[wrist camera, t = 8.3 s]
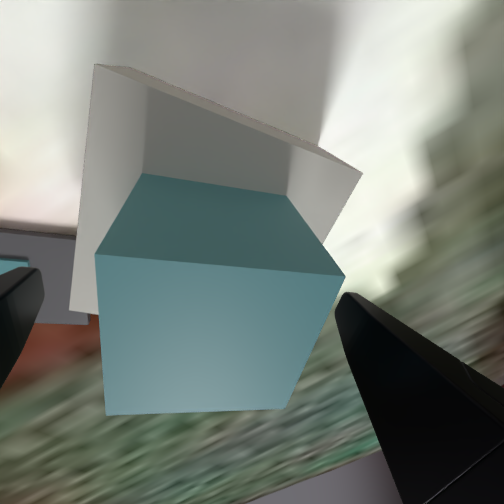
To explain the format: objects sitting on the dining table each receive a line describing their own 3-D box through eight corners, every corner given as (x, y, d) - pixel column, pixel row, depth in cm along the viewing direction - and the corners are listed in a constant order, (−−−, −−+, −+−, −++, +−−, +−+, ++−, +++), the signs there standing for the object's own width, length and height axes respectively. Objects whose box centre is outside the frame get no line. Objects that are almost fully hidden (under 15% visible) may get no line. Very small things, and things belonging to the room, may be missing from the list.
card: (-68, 313, 16) (-77, 321, 15) (-112, 216, 13) (-125, 222, 12) (90, 320, 18) (87, 327, 17) (83, 236, 15) (79, 242, 14)
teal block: (139, 292, 12) (106, 415, 7) (142, 173, 9) (93, 254, 5) (256, 299, 13) (284, 408, 9) (286, 195, 10) (345, 276, 6)
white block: (103, 247, 16) (69, 310, 12) (131, 67, 12) (94, 64, 8) (252, 280, 19) (267, 339, 14) (315, 144, 15) (363, 173, 10)
